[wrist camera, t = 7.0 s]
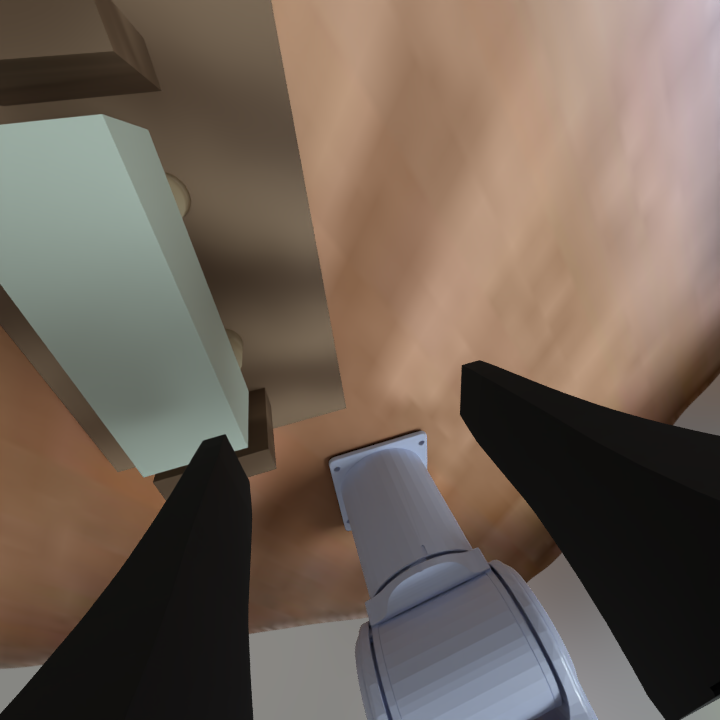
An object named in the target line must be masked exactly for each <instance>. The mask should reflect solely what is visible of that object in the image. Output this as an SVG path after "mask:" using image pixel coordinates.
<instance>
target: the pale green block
mask: <svg viewBox="0 0 720 720" xmlns="http://www.w3.org/2000/svg"><path fill="white" fill-rule="evenodd" d="M0 284H1V286H2V287H3V288H4V290H5V291H6V292H7V294H8V295H9V296H10V298H11V299H12V300H13V302H14V303H15V304H16V306H17V307H18V308H19V310H20V311H21V313H22V314H23V315H24V317H25V318H26V319H27V321H28V322H29V323H30V325H31V326H32V327H33V329H34V330H35V331H36V333H37V334H38V335H39V337H40V338H41V340H42V341H43V342H44V344H45V345H46V346H47V348H48V349H49V350H50V352H51V353H52V354H53V356H54V357H55V358H56V360H57V361H58V362H59V364H60V365H61V367H62V368H63V369H64V371H65V372H66V373H67V375H68V376H69V377H70V379H71V380H72V381H73V383H74V384H75V385H76V387H77V388H78V389H79V391H80V392H81V394H82V395H83V396H84V398H85V399H86V400H87V402H88V403H89V404H90V406H91V407H92V408H93V410H94V411H95V412H96V414H97V415H98V416H99V418H100V419H101V421H102V422H103V423H104V425H105V426H106V427H107V429H108V430H109V431H110V433H111V434H112V435H113V437H114V438H115V439H116V441H117V442H118V443H119V445H120V446H121V448H122V449H123V450H124V452H125V453H126V454H127V456H128V457H129V458H130V460H131V461H132V462H133V464H134V465H135V466H136V468H137V469H138V470H139V472H140V473H141V475H142V476H143V477H146V476H150V475H153V474H157V473H160V472H164V471H167V470H171V469H174V468H178V467H181V466H185V465H188V464H189V462H190V461H191V459H192V457H193V456H194V454H195V452H196V451H197V449H198V448H199V446H200V444H201V443H202V441H203V440H206V439H210V438H213V437H217V436H220V435H224V434H226V436H227V438H228V440H229V442H230V444H231V446H232V448H233V450H234V451H237V450H241V449H244V448H248V404H249V391H248V388H247V386H246V383H245V381H244V378H243V375H242V373H241V370H240V368H239V365H238V362H237V360H236V357H235V355H234V352H233V349H232V347H231V344H230V342H229V339H228V336H227V334H226V331H225V329H224V326H223V323H222V321H221V318H220V316H219V313H218V310H217V308H216V305H215V303H214V300H213V297H212V295H211V292H210V289H209V287H208V284H207V282H206V279H205V276H204V274H203V271H202V269H201V266H200V263H199V261H198V258H197V256H196V253H195V250H194V248H193V245H192V243H191V240H190V237H189V235H188V232H187V230H186V227H185V224H184V222H183V219H182V217H181V214H180V211H179V209H178V206H177V204H176V201H175V198H174V196H173V193H172V191H171V188H170V185H169V183H168V180H167V178H166V175H165V172H164V170H163V167H162V165H161V162H160V159H159V157H158V154H157V152H156V149H155V146H154V144H153V141H152V139H151V136H150V133H149V131H148V130H147V129H145V128H142V127H139V126H136V125H133V124H130V123H127V122H124V121H121V120H118V119H115V118H112V117H109V116H106V115H103V114H98V115H89V116H79V117H70V118H60V119H50V120H41V121H31V122H22V123H12V124H3V125H0Z"/></svg>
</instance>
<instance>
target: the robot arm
mask: <svg viewBox="0 0 720 720" xmlns="http://www.w3.org/2000/svg"><path fill="white" fill-rule="evenodd" d="M460 415H461V417H462V419H463V420H464V422H465V424H466V425H467V427H468V429H469V430H470V432H471V433H472V435H473V436H474V438H475V439H476V441H477V442H478V443H479V445H480V446H481V447H482V448H483V450H484V451H485V452H486V453H487V455H488V456H489V457H490V458H491V459H492V461H493V462H494V463H495V464H496V466H497V467H498V468H499V469H500V470H501V472H502V473H503V474H504V475H505V476H506V478H507V479H508V480H509V481H510V482H511V484H512V485H513V486H514V487H515V488H516V490H517V491H518V492H519V493H520V494H521V496H522V497H523V498H524V499H525V500H526V502H527V503H528V504H529V506H530V507H531V508H532V509H533V511H534V512H535V513H536V515H537V516H538V518H539V519H540V521H541V522H542V523H543V525H544V526H545V528H546V529H547V531H548V532H549V534H550V535H551V537H552V538H553V539H554V541H555V542H556V544H557V545H558V547H559V548H560V550H561V551H562V553H563V554H564V556H565V558H566V559H567V561H568V562H569V564H570V565H571V567H572V568H573V570H574V571H575V573H576V574H577V576H578V578H579V579H580V581H581V582H582V584H583V585H584V587H585V589H586V590H587V592H588V594H589V595H590V597H591V599H592V600H593V602H594V603H595V605H596V607H597V608H598V610H599V612H600V613H601V615H602V616H603V618H604V619H605V621H606V622H607V625H608V626H609V628H610V630H611V632H612V633H613V635H614V637H615V639H616V640H617V642H618V643H619V645H620V647H621V649H622V651H623V652H624V654H625V656H626V658H627V659H628V661H629V663H630V665H631V666H632V668H633V670H634V672H635V673H636V675H637V677H638V679H639V681H640V682H641V684H642V686H643V688H644V690H645V692H646V694H647V695H648V697H649V698H650V700H651V701H652V702H653V703H654V705H655V706H656V708H657V709H658V710H659V712H660V713H661V714H662V716H663V717H664V718H665V720H681V719H683V718H684V717H686V716H688V715H690V714H691V713H693V712H695V711H697V710H699V709H701V708H703V707H704V706H706V705H708V704H710V703H712V702H714V701H715V700H717V699H719V698H720V436H718V435H712V434H708V433H703V432H699V431H694V430H690V429H685V428H681V427H677V426H672V425H668V424H664V423H660V422H656V421H652V420H648V419H645V418H641V417H637V416H634V415H630V414H627V413H623V412H620V411H616V410H613V409H610V408H606V407H603V406H600V405H597V404H594V403H591V402H588V401H585V400H582V399H580V398H577V397H574V396H571V395H568V394H565V393H563V392H560V391H557V390H555V389H552V388H549V387H547V386H544V385H542V384H539V383H537V382H534V381H532V380H529V379H527V378H524V377H522V376H519V375H517V374H514V373H512V372H509V371H507V370H504V369H502V368H499V367H497V366H494V365H492V364H489V363H486V362H483V361H480V360H479V361H475V362H472V363H468V364H465V365H462V375H461V402H460ZM329 467H330V471H331V475H332V478H333V482H334V486H335V490H336V494H337V498H338V502H339V506H340V510H341V514H342V518H343V522H344V526H345V529H346V530H347V531H351V530H352V534H353V537H354V541H355V545H356V548H357V552H358V556H359V559H360V563H361V567H362V570H363V574H364V578H365V581H366V585H367V588H368V592H369V596H370V599H369V600H367V601H366V602H365V605H366V609H367V613H368V617H369V621H368V622H366V623H364V624H362V625H361V627H360V630H359V636H358V639H357V642H356V647H355V657H356V667H357V674H358V679H359V686H360V691H361V695H362V700H363V704H364V708H365V713H366V716H367V720H598V718H597V717H596V714H595V713H594V711H593V709H592V707H591V705H590V703H589V701H588V699H587V697H586V695H585V693H584V691H583V689H582V687H581V685H580V683H579V681H578V678H577V674H576V670H575V667H574V665H573V662H572V660H571V658H570V655H569V653H568V651H567V649H566V647H565V645H564V643H563V641H562V639H561V637H560V635H559V634H558V632H557V630H556V628H555V626H554V625H553V623H552V621H551V620H550V618H549V616H548V615H547V613H546V611H545V610H544V608H543V607H542V605H541V603H540V602H539V600H538V599H537V598H536V596H535V594H534V593H533V592H532V590H531V589H530V587H529V586H528V585H527V583H526V582H525V581H524V580H523V578H522V577H521V576H520V575H519V574H518V573H517V572H516V571H515V570H514V569H513V568H512V567H510V566H508V565H505V564H503V563H502V562H501V561H499V560H493V561H491V562H489V563H487V561H486V559H485V558H484V556H483V554H482V553H481V551H480V549H479V548H475V549H472V547H471V546H470V544H469V542H468V540H467V539H466V537H465V535H464V533H463V532H462V530H461V528H460V526H459V525H458V523H457V521H456V519H455V518H454V516H453V514H452V512H451V511H450V509H449V507H448V506H447V504H446V502H445V500H444V499H443V497H442V495H441V493H440V492H439V490H438V488H437V486H436V485H435V483H434V481H433V479H432V478H431V476H430V474H429V473H428V471H427V435H426V433H425V432H424V431H418V432H415V433H412V434H408V435H405V436H402V437H398V438H395V439H392V440H389V441H385V442H382V443H379V444H375V445H372V446H369V447H366V448H362V449H359V450H356V451H353V452H349V453H346V454H343V455H339V456H336V457H333V458H331V459H330V460H329ZM336 467H337V468H336ZM251 536H252V506H251V493H250V482H249V480H248V478H247V476H246V474H245V472H244V470H243V468H242V466H241V464H240V462H239V460H238V458H237V456H236V454H235V452H234V450H233V448H232V446H231V444H230V442H229V440H228V438H227V436H226V434H224V435H220V436H217V437H213V438H210V439H206V440H203V441H202V443H201V444H200V446H199V448H198V449H197V451H196V452H195V454H194V456H193V457H192V459H191V461H190V462H189V464H188V466H187V468H186V469H185V471H184V473H183V474H182V476H181V478H180V479H179V481H178V483H177V484H176V486H175V488H174V489H173V491H172V492H171V494H170V496H169V497H168V499H167V501H166V502H165V504H164V505H163V507H162V509H161V510H160V512H159V513H158V515H157V516H156V518H155V520H154V521H153V523H152V524H151V526H150V527H149V529H148V530H147V532H146V533H145V534H144V536H143V537H142V539H141V540H140V542H139V543H138V545H137V546H136V548H135V549H134V551H133V552H132V554H131V555H130V557H129V558H128V559H127V561H126V562H125V564H124V565H123V566H122V568H121V569H120V570H119V572H118V573H117V574H116V576H115V577H114V578H113V580H112V581H111V583H110V584H109V585H108V586H107V588H106V589H105V590H104V592H103V593H102V594H101V595H100V597H99V598H98V599H97V601H96V602H95V603H94V604H93V606H92V607H91V608H90V610H89V611H88V612H87V613H86V615H85V616H84V617H83V618H82V620H81V621H80V622H79V623H78V624H77V626H76V627H75V628H74V629H73V630H72V632H71V633H70V634H69V635H68V636H67V637H66V639H65V640H64V641H63V642H62V643H61V645H60V646H59V647H58V648H57V649H56V650H55V652H54V653H53V654H52V655H51V656H50V657H49V659H48V660H47V661H46V662H45V663H44V665H43V666H42V667H41V668H40V669H39V671H38V672H37V673H36V674H35V675H34V676H33V678H32V679H31V680H30V681H29V682H28V683H27V685H26V686H25V687H24V688H23V689H22V690H21V691H20V693H19V694H18V695H17V696H16V697H15V698H14V699H13V700H12V702H11V703H10V704H9V705H8V706H7V707H6V708H5V709H4V710H3V711H2V713H1V714H0V720H253V708H252V691H251V675H250V654H249V631H248V602H249V580H250V559H251Z"/></svg>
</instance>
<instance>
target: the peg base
mask: <svg viewBox="0 0 720 720" xmlns="http://www.w3.org/2000/svg"><path fill="white" fill-rule="evenodd" d="M98 114H103V115H106V116H109V117H112V118H115V119H118V120H121V121H124V122H127V123H130V124H133V125H136V126H139V127H142V128H145V129H147V130H148V131H149V133H150V136H151V139H152V141H153V144H154V146H155V149H156V152H157V154H158V157H159V159H160V162H161V165H162V167H163V170H164V172H165V175H166V178H167V180H168V183H169V185H170V188H171V191H172V193H173V196H174V198H175V201H176V204H177V206H178V209H179V211H180V214H181V217H182V219H183V222H184V224H185V227H186V230H187V232H188V235H189V237H190V240H191V243H192V245H193V248H194V250H195V253H196V256H197V258H198V261H199V263H200V266H201V269H202V271H203V274H204V276H205V279H206V282H207V284H208V287H209V289H210V292H211V295H212V297H213V300H214V303H215V305H216V308H217V310H218V313H219V316H220V318H221V321H222V323H223V326H224V329H225V331H226V334H227V336H228V339H229V342H230V344H231V347H232V349H233V352H234V355H235V357H236V360H237V362H238V365H239V368H240V370H241V373H242V375H243V378H244V381H245V383H246V386H247V388H248V391H249V404H248V448H244V449H241V450H237V451H234V452H235V454H236V456H237V458H238V460H239V462H240V464H241V466H242V468H243V470H244V472H245V474H246V476H247V478H248V477H251V476H254V475H257V474H261V473H264V472H267V471H271V470H274V469H276V459H275V447H274V435H273V428H277V427H281V426H284V425H288V424H291V423H295V422H298V421H302V420H306V419H309V418H313V417H316V416H320V415H323V414H327V413H331V412H334V411H338V410H341V409H345V408H346V404H345V399H344V393H343V388H342V382H341V377H340V372H339V366H338V361H337V355H336V350H335V344H334V339H333V334H332V328H331V323H330V317H329V312H328V307H327V301H326V296H325V290H324V285H323V279H322V274H321V269H320V263H319V258H318V252H317V247H316V242H315V236H314V231H313V225H312V220H311V214H310V209H309V204H308V198H307V193H306V187H305V182H304V176H303V171H302V166H301V160H300V155H299V149H298V144H297V139H296V133H295V128H294V122H293V117H292V111H291V106H290V101H289V95H288V90H287V84H286V79H285V74H284V68H283V63H282V57H281V52H280V46H279V41H278V36H277V30H276V25H275V19H274V14H273V9H272V3H271V0H0V125H3V124H12V123H22V122H31V121H41V120H50V119H60V118H70V117H79V116H89V115H98ZM0 325H1V326H2V327H3V329H4V330H5V331H6V332H7V334H8V335H9V336H10V337H11V339H12V340H13V341H14V342H15V344H16V345H17V346H18V347H19V349H20V350H21V351H22V352H23V354H24V355H25V356H26V357H27V359H28V360H29V361H30V362H31V364H32V365H33V366H34V367H35V369H36V370H37V371H38V373H39V374H40V375H41V376H42V378H43V379H44V380H45V381H46V383H47V384H48V385H49V386H50V388H51V389H52V390H53V391H54V393H55V394H56V395H57V396H58V398H59V399H60V400H61V401H62V403H63V404H64V405H65V406H66V408H67V409H68V410H69V411H70V413H71V414H72V415H73V416H74V418H75V419H76V420H77V421H78V423H79V424H80V425H81V426H82V428H83V429H84V430H85V432H86V433H87V434H88V435H89V437H90V438H91V439H92V440H93V442H94V443H95V444H96V445H97V447H98V448H99V449H100V450H101V452H102V453H103V454H104V455H105V457H106V458H107V459H108V460H109V462H110V463H111V464H112V465H113V467H114V468H115V469H116V470H117V472H120V471H124V470H127V469H131V468H134V467H136V466H135V465H134V464H133V462H132V461H131V460H130V458H129V457H128V456H127V454H126V453H125V452H124V450H123V449H122V448H121V446H120V445H119V443H118V442H117V441H116V439H115V438H114V437H113V435H112V434H111V433H110V431H109V430H108V429H107V427H106V426H105V425H104V423H103V422H102V421H101V419H100V418H99V416H98V415H97V414H96V412H95V411H94V410H93V408H92V407H91V406H90V404H89V403H88V402H87V400H86V399H85V398H84V396H83V395H82V394H81V392H80V391H79V389H78V388H77V387H76V385H75V384H74V383H73V381H72V380H71V379H70V377H69V376H68V375H67V373H66V372H65V371H64V369H63V368H62V367H61V365H60V364H59V362H58V361H57V360H56V358H55V357H54V356H53V354H52V353H51V352H50V350H49V349H48V348H47V346H46V345H45V344H44V342H43V341H42V340H41V338H40V337H39V335H38V334H37V333H36V331H35V330H34V329H33V327H32V326H31V325H30V323H29V322H28V321H27V319H26V318H25V317H24V315H23V314H22V313H21V311H20V310H19V308H18V307H17V306H16V304H15V303H14V302H13V300H12V299H11V298H10V296H9V295H8V294H7V292H6V291H5V290H4V288H3V287H2V286H1V284H0ZM187 466H188V465H185V466H181V467H178V468H174V469H171V470H167V471H164V472H160V473H157V474H155V477H154V481H153V483H154V485H155V486H156V487H157V489H158V490H159V492H160V493H161V494H162V496H163V497H164V498H165V500H166V501H167V499H168V497H169V496H170V494H171V492H172V491H173V489H174V488H175V486H176V484H177V483H178V481H179V479H180V478H181V476H182V474H183V473H184V471H185V469H186V468H187Z"/></svg>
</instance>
